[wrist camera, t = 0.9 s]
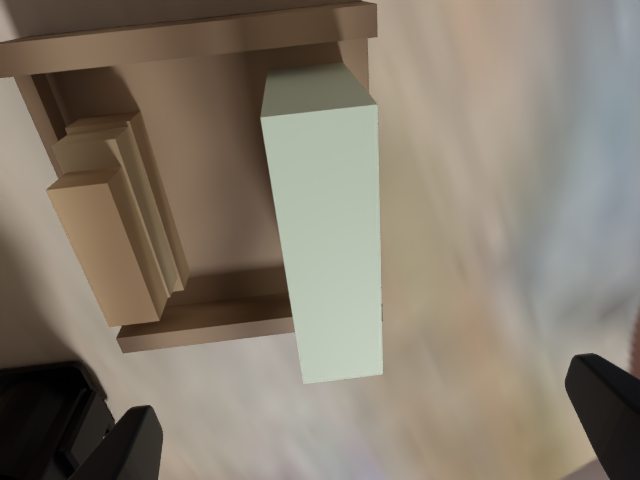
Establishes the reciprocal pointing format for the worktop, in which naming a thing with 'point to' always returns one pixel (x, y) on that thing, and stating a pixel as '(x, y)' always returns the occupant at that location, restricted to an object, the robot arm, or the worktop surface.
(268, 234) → the rack
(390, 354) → the worktop surface
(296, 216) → the pale grey rectangular block
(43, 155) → the worktop surface
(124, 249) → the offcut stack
